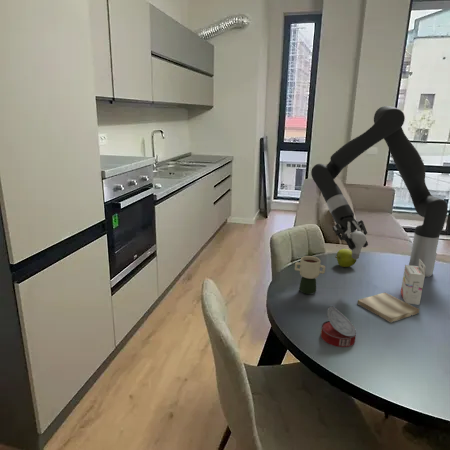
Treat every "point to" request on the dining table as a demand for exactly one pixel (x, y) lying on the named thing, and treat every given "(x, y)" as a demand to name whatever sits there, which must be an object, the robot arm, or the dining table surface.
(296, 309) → the dining table surface
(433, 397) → the dining table surface
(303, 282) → the character mug
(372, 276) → the dining table surface
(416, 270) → the ink cartridge box
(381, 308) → the birch board
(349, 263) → the apple
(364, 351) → the dining table surface
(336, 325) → the canned food
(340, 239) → the robot arm
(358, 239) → the lightbulb
